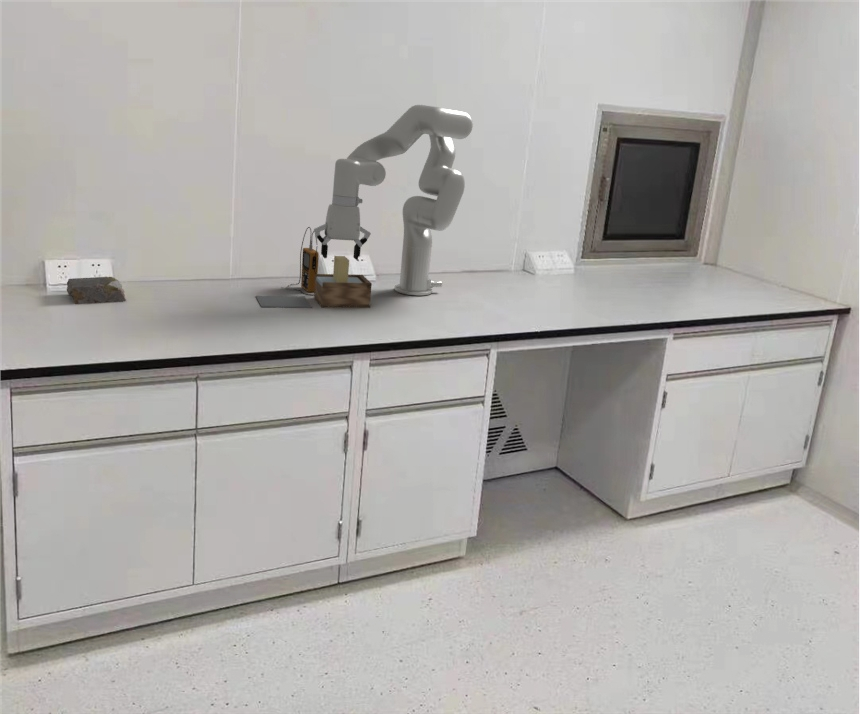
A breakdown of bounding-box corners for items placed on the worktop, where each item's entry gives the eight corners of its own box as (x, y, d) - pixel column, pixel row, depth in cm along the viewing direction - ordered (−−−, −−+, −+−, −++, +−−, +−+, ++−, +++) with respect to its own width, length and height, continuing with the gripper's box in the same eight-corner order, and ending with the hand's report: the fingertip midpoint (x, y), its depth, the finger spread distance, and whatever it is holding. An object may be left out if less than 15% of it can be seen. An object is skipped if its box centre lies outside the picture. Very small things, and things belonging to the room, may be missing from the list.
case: (360, 298, 273) (362, 274, 271) (369, 307, 263) (371, 283, 261) (314, 297, 268) (315, 273, 266) (321, 307, 258) (323, 282, 256)
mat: (304, 297, 268) (304, 296, 268) (312, 307, 257) (312, 306, 257) (255, 296, 263) (255, 295, 263) (261, 307, 252) (261, 306, 252)
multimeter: (275, 285, 279) (278, 223, 273) (305, 284, 284) (308, 224, 278) (290, 296, 267) (293, 232, 261) (321, 295, 272) (324, 232, 266)
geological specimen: (63, 278, 244) (118, 273, 252) (65, 299, 246) (119, 294, 253) (69, 286, 235) (126, 281, 243) (72, 308, 237) (128, 302, 245)
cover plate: (357, 280, 270) (358, 255, 268) (364, 287, 262) (366, 261, 259) (316, 279, 266) (317, 254, 263) (322, 287, 258) (323, 260, 255)
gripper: (369, 201, 262) (364, 257, 267) (313, 197, 256) (309, 254, 261) (376, 205, 256) (370, 262, 261) (318, 201, 250) (314, 259, 255)
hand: (340, 258), depth 261 cm, fingers open, 9 cm apart
